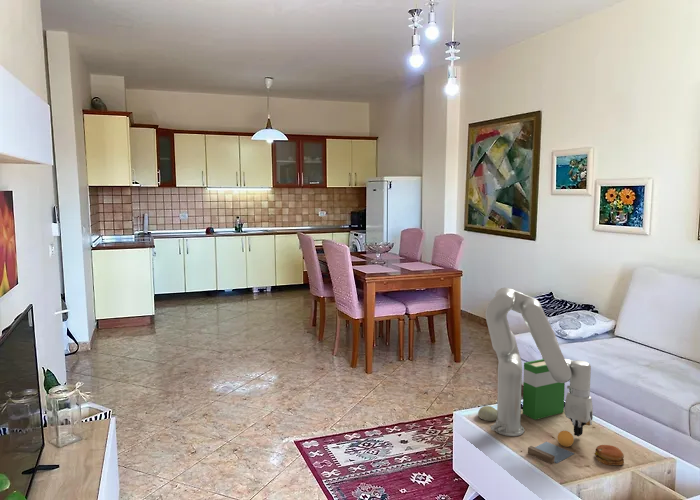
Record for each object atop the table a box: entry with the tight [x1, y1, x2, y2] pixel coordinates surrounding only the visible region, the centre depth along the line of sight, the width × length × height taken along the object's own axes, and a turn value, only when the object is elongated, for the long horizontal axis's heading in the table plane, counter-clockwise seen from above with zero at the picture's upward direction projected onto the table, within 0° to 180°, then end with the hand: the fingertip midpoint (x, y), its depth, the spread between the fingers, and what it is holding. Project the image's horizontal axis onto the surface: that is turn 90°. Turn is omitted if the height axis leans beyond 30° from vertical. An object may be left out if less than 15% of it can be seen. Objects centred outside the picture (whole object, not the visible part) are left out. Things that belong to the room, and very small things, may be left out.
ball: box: [557, 430, 575, 448], centre depth 203 cm, size 6×6×6 cm
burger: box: [594, 444, 625, 466], centre depth 193 cm, size 10×9×5 cm
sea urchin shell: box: [477, 405, 497, 422], centre depth 230 cm, size 9×8×8 cm
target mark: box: [534, 441, 575, 464], centre depth 199 cm, size 12×12×1 cm
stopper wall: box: [527, 445, 555, 465], centre depth 194 cm, size 2×10×2 cm, turn 36°
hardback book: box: [522, 358, 566, 421], centre depth 234 cm, size 18×7×24 cm, turn 115°
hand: (578, 434), depth 210 cm, fingers closed
